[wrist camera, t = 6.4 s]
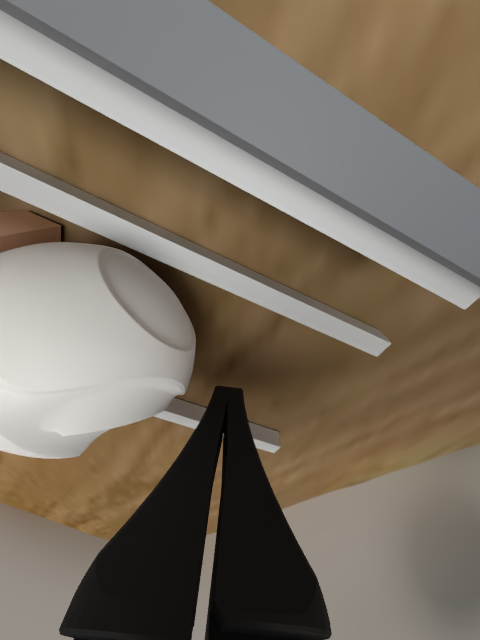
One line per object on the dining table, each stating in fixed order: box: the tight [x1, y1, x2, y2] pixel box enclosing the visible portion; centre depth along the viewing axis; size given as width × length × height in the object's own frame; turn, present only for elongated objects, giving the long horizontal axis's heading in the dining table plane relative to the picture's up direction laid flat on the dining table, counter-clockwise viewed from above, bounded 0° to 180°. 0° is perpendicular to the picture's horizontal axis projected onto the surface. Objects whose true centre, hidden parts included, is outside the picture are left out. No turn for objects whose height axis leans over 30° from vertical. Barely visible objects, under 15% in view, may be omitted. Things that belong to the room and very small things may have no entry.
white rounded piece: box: [0, 242, 196, 458], centre depth 8 cm, size 8×8×8 cm
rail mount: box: [0, 0, 480, 453], centre depth 9 cm, size 21×16×6 cm
